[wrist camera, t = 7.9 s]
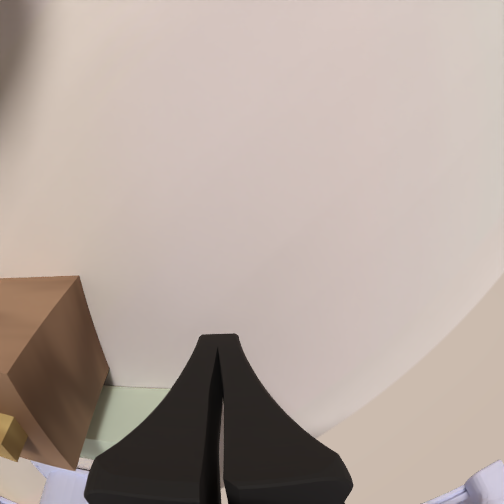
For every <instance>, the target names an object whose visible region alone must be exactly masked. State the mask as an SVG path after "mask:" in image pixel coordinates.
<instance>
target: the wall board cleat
mask: <svg viewBox="0 0 504 504" xmlns="http://www.w3.org/2000/svg"><path fill="white" fill-rule="evenodd" d="M169 391H170V389H162V388H136V387H119V386H106V385H103V388H102V390H101V393H100V396H99V399H98V402H97V405H96V407H95V410H94V413H93V416H92V419H91V422H90V425H89V428H88V432H87V435H86V438H85V441H84V444H83V447H82V451H81V454H80V457H81V458H87V459H92V460H94V459H95V457H97V456H98V455H100V454H101V453H103V452H105V451H106V450H107V449H109V448H110V447H112V446H113V445H115V444H116V443H118V442H119V441H120V440H122V439H123V438H124V437H125V436H127V435H128V434H129V433H130V432H131V431H132V430H134V429H135V428H136V427H137V426H138V425H139V424H140V423H142V422H143V421H144V420H145V419H146V418H147V417H148V416H149V414H150V413H151V412H152V411H153V410H154V409H155V408H156V407H157V406H158V405H159V403H160V402H161V401H162V400H163V399H164V397H165V396H166V395H167V394H168V392H169Z"/></svg>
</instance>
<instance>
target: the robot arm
mask: <svg viewBox="0 0 504 504" xmlns="http://www.w3.org/2000/svg"><path fill="white" fill-rule="evenodd" d="M222 401H224V471H223V479H224V484H225V489H226V494H227V498H228V504H345V503H344V501H345V500H346V498H347V496H348V495H349V494H350V492H351V490H352V488H353V482H352V478H351V476H350V474H349V472H348V470H347V468H346V466H345V464H344V462H343V461H342V459H341V458H340V456H339V455H338V454H337V453H336V452H334V451H333V450H331V449H329V448H328V447H326V446H325V445H323V444H322V443H320V442H319V441H318V440H316V439H315V438H314V437H312V436H311V435H310V434H309V433H307V432H306V431H305V430H304V429H303V428H301V427H300V426H299V425H298V424H297V423H296V422H295V421H294V420H293V419H292V418H290V417H289V416H288V415H287V414H286V413H285V412H284V411H283V409H282V408H281V407H280V406H279V405H278V404H277V403H276V402H275V400H274V399H273V398H272V397H271V396H270V394H269V393H268V392H267V390H266V389H265V388H264V386H263V385H262V383H261V382H260V380H259V379H258V377H257V376H256V374H255V373H254V371H253V369H252V367H251V366H250V364H249V362H248V360H247V358H246V356H245V354H244V352H243V349H242V347H241V344H240V341H239V337H238V335H237V334H206V335H201V336H200V337H199V340H198V342H197V345H196V347H195V349H194V351H193V353H192V355H191V357H190V359H189V361H188V363H187V364H186V366H185V368H184V370H183V371H182V373H181V375H180V376H179V378H178V379H177V381H176V382H175V384H174V385H173V387H172V388H171V389H170V391H169V392H168V394H167V395H166V396H165V397H164V399H163V400H162V401H161V402H160V403H159V405H158V406H157V407H156V408H155V409H154V410H153V411H152V412H151V413H150V414H149V416H148V417H147V418H146V419H145V420H144V421H143V422H142V423H140V424H139V425H138V426H137V427H136V428H135V429H134V430H132V431H131V432H130V433H129V434H128V435H127V436H125V437H124V438H123V439H122V440H120V441H119V442H118V443H116V444H115V445H113V446H112V447H110V448H109V449H107V450H106V451H105V452H103V453H101V454H100V455H98V456H97V457H95V459H94V462H93V464H92V466H91V469H90V471H86V470H81V469H76V471H71V470H67V469H62V468H58V467H54V466H50V465H46V464H43V463H39V462H35V461H32V460H31V462H32V464H33V465H34V466H35V467H36V468H37V469H38V470H39V471H40V472H41V473H42V474H43V475H44V477H45V478H46V479H47V480H46V483H45V487H44V490H43V493H42V496H41V500H40V503H39V504H221V492H220V471H219V439H220V426H221V414H222ZM0 504H18V503H15V502H13V501H11V500H8V499H6V498H4V497H2V496H0ZM422 504H504V464H503V463H502V461H501V460H497V461H495V462H494V463H492V464H490V465H489V466H487V467H485V468H483V469H481V470H480V471H478V472H476V473H475V474H474V475H473V476H471V477H470V478H469V479H468V480H467V481H466V483H465V484H464V485H462V486H460V487H458V488H456V489H454V490H452V491H450V492H447V493H445V494H443V495H441V496H439V497H436V498H434V499H432V500H429V501H427V502H424V503H422Z"/></svg>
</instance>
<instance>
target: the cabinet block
mask: <svg viewBox="0 0 504 504" xmlns="http://www.w3.org/2000/svg"><path fill="white" fill-rule="evenodd" d="M108 371H109V366H108V364H107V361H106V358H105V356H104V353H103V350H102V348H101V345H100V342H99V339H98V336H97V333H96V330H95V327H94V324H93V321H92V318H91V315H90V312H89V309H88V305H87V302H86V299H85V295H84V292H83V288H82V284H81V281H80V277H79V276H56V277H30V278H0V456H1V457H4V458H7V459H10V460H12V461H15V462H18V459H19V457H22V458H25V459H29V460H32V461H35V462H39V463H43V464H46V465H50V466H54V467H58V468H62V469H67V470H71V471H76V468H77V464H78V461H79V457H80V454H81V451H82V447H83V444H84V441H85V438H86V435H87V432H88V428H89V425H90V422H91V419H92V416H93V413H94V410H95V407H96V405H97V402H98V399H99V396H100V393H101V390H102V388H103V385H104V382H105V379H106V377H107V374H108Z"/></svg>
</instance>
